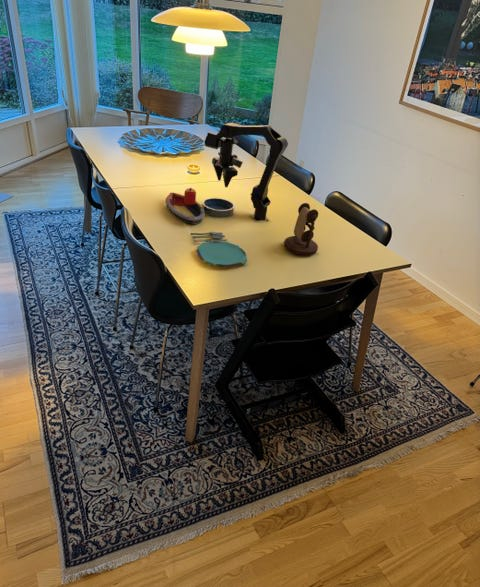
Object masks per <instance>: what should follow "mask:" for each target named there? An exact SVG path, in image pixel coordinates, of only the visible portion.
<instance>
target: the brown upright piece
mask: <svg viewBox="0 0 480 587" xmlns="http://www.w3.org/2000/svg"><path fill="white" fill-rule="evenodd" d="M297 212H298V215H297V219H296V221H295V226H294V229H293V235H291V236H288V237H286V238H285V239H284V241H283V245H284V247H285V249H287V250H288V251H290V252H293V253H294V254H295V256H298V254H300V255H313V254H316V253H317V252H318V249H319V245H318V244H317V242H316V241H314V240H313V238H314V234H315V233H314V231H315V228H316V227H315V223H316V220H317V219H318V217H319V211H318V210H317V209H311V206H310V204H309V203H307V202H303V203H301V204H300V205H299V207H298V209H297ZM306 226H307V227H306ZM306 228H308V229H307V230H306Z"/></svg>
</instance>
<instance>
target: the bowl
mask: <svg viewBox="0 0 480 587" xmlns="http://www.w3.org/2000/svg"><path fill="white" fill-rule="evenodd" d="M201 206H202V208H203V209H204V212H205V215H207V216H209V217H213V218H219V219H221V218H229V217H232V216H233V215H234V213H235V203H234V202H232V201H231V200H228V199H226V198H220V197H209V198H205V199H204V200H203V201H202V205H201Z"/></svg>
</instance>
